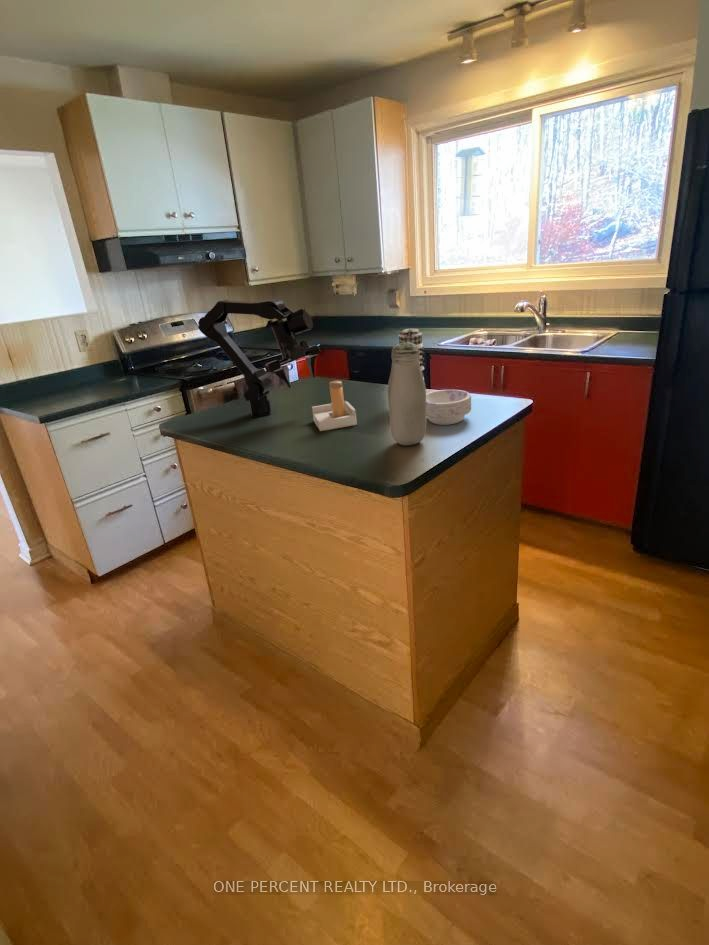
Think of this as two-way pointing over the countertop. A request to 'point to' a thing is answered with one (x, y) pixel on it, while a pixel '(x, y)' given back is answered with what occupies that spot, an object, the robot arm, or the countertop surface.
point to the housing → (326, 420)
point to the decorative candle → (416, 338)
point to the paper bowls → (447, 406)
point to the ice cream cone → (337, 399)
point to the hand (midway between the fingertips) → (301, 383)
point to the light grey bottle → (406, 395)
